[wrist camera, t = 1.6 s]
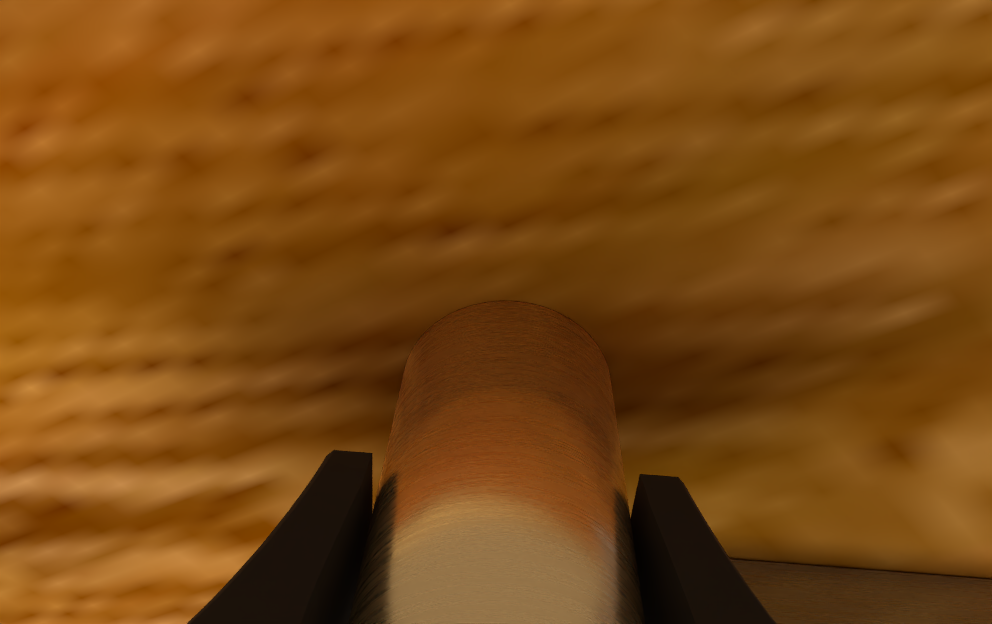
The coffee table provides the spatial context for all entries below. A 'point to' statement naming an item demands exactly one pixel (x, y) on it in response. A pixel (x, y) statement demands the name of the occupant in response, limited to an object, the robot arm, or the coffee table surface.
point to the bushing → (502, 481)
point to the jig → (865, 595)
